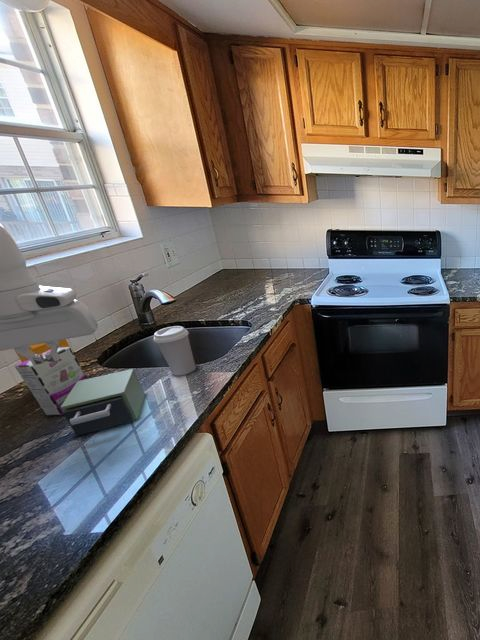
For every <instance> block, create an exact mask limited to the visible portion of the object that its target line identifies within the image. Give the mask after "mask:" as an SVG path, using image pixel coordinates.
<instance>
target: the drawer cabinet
mask: <svg viewBox="0 0 480 640" xmlns="http://www.w3.org/2000/svg"><path fill="white" fill-rule="evenodd" d="M121 395H122V397H123V399H124V401H125V403H126V405H127V407H128V409H129V411H130V413H131V415H132V417H133V420H132V421H131V422H135V421H138V419H139V416H140V413H141V409H142V406H143V403H144V399H145V396H146V393H145V391H144V389H143V387H142V384H141V383H140V380H139V377H138V375H137V374H136V371H135V369H134V368H130V369H127V370H122V371H118V372H113V373H108V374H103V375H99V376H94V377H90V378H87V379H85V380H81V381H77V383H76V384H75V386H74V387H73V389H72V390H71V392H70V393H69V395H68V396H67V398H66V399H65V401H64V403H63V404H62V406H61V407H60V408H61V409H62V411H63V413H64V411H65V410H70V409H71V408H72V407H76V406H80V405H84V404H88V403H92V402H96V401H100V400H104V399H108V398H112V397H116V396H121ZM126 423H128V422H126ZM126 423H125V424H126ZM115 426H117V425H115ZM115 426H114V427H115Z"/></svg>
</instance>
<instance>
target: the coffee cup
mask: <svg viewBox="0 0 480 640" xmlns="http://www.w3.org/2000/svg"><path fill="white" fill-rule="evenodd" d="M189 335H190V332H189V331H188V330H187V329H186V328H185V327H184V326H181V325H173V326H167V327H164V328H161V329H159V330H157V331H155V332H154V333H153V339H152V341H153V343H156V345H157V347H158V348H159V350H160V352H161V354H162V357H163V358H164V359H165V362H166V363H167V365H168V367H169V368H170V371H171V372H172V374H173V375H174V376H185V375H188V374H191V373H193V372H194V371H196V368H197V367H196V366H197V365H196V363H195V359H194V354H193V350H192V348H191V347H192V346H191V344H190V339H189Z"/></svg>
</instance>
